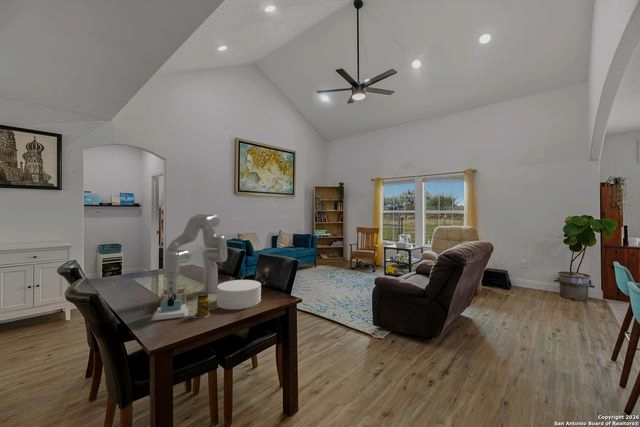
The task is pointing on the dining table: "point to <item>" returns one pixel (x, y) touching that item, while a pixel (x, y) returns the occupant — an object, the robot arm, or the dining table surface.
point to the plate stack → (238, 294)
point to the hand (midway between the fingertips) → (171, 303)
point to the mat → (171, 318)
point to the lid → (170, 310)
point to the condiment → (202, 306)
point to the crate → (180, 295)
